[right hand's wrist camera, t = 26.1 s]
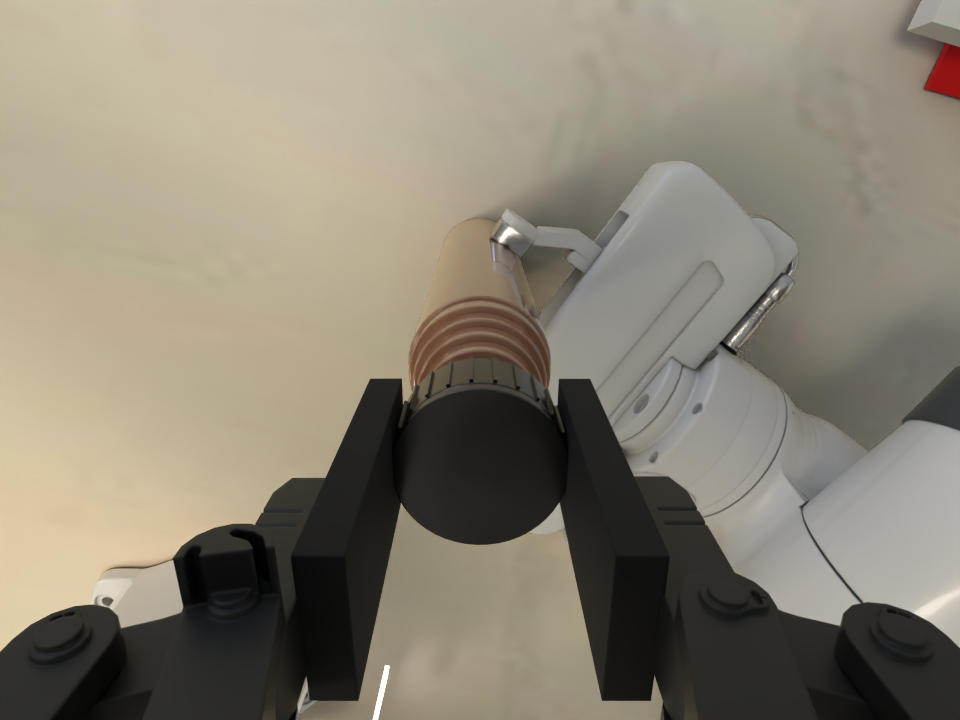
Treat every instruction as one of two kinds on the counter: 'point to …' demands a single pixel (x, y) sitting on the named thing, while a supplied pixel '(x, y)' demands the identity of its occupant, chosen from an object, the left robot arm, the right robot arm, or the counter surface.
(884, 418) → the counter surface
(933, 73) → the toy
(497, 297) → the bottle
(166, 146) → the counter surface
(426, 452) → the cap
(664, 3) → the counter surface
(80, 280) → the counter surface
